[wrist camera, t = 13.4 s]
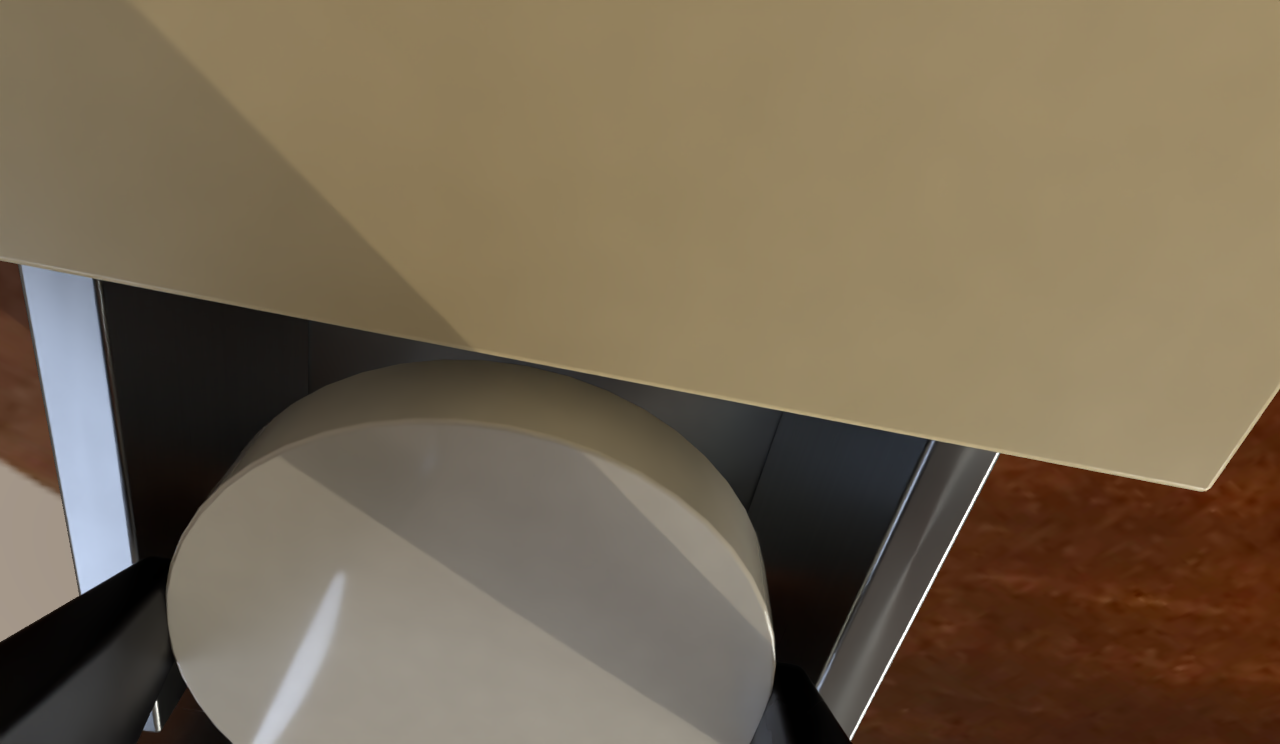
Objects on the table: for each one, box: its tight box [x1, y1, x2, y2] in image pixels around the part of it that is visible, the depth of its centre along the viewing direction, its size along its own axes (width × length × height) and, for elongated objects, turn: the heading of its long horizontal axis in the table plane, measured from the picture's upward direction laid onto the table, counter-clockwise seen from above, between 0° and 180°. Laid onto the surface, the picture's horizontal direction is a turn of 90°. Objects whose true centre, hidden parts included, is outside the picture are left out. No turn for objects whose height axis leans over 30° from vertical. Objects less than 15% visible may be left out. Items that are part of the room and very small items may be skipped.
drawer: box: [18, 264, 1000, 744], centre depth 14 cm, size 18×11×7 cm, turn 169°
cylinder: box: [165, 359, 776, 744], centre depth 10 cm, size 7×7×2 cm
